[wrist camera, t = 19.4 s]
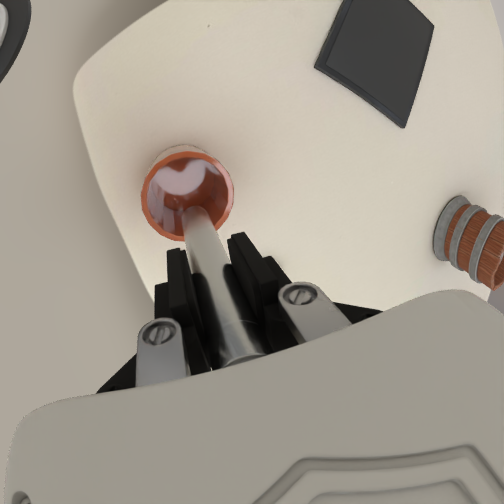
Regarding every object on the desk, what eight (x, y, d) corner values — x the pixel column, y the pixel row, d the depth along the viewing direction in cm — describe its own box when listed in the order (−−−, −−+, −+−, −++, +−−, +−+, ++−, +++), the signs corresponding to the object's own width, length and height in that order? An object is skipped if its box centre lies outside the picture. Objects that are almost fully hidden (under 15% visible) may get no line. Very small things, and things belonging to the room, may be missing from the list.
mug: (436, 201, 41) (502, 234, 29) (482, 187, 45) (534, 212, 32) (427, 268, 48) (480, 307, 35) (473, 243, 52) (519, 272, 39)
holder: (139, 203, 29) (131, 229, 22) (160, 135, 26) (158, 139, 19) (203, 221, 32) (215, 251, 25) (227, 157, 29) (247, 168, 22)
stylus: (177, 223, 19) (207, 396, 7) (185, 198, 18) (228, 351, 6) (202, 229, 20) (265, 397, 8) (210, 205, 19) (292, 356, 7)
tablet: (313, 67, 27) (317, 66, 26) (359, -36, 20) (363, -38, 19) (400, 128, 33) (405, 128, 33) (431, 26, 27) (434, 25, 26)
